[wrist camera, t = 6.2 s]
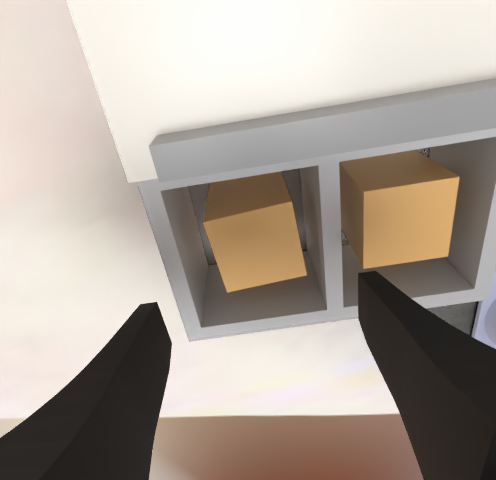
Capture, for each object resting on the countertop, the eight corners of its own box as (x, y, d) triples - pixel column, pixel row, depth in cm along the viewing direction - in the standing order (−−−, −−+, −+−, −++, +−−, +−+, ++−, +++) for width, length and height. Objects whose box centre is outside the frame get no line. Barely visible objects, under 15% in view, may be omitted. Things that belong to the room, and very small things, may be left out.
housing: (481, -163, 14) (619, -274, 9) (433, 242, 22) (488, 299, 18) (97, -86, 14) (27, -149, 9) (198, 277, 23) (189, 341, 18)
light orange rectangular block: (279, 164, 20) (291, 201, 15) (292, 227, 22) (307, 275, 17) (210, 182, 20) (202, 222, 16) (229, 242, 22) (227, 292, 18)
